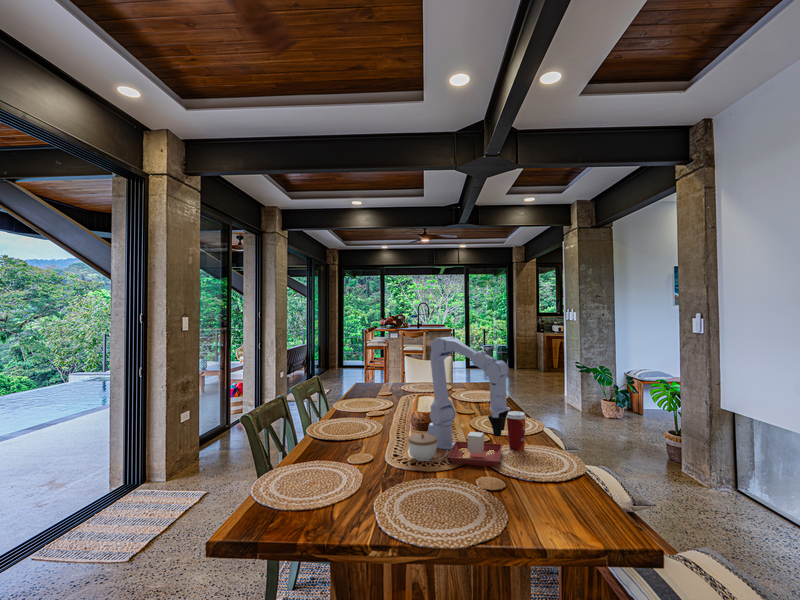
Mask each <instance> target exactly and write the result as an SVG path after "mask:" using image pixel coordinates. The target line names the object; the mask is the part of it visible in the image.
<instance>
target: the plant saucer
mask: <svg viewBox="0 0 800 600" xmlns="http://www.w3.org/2000/svg"><path fill="white" fill-rule="evenodd" d="M454 442H455V444H454V446H453V447H452V448H451V449H450V452H449V454H448V456H447V458H448V459H449V460H450V461H451V462H452V463H453V462H454V463H453V464H458V463H464V464H463V465H471V466H481V467H491V466H495V467H496V466H497V465H498V464H499V463H500V461H501V455H502V454H501V453H502V447H503V444H501V443H488V442H484V450H483V452H482V454H481V453H473V452H470V454H471V455H470V458H459V457H462V456H463V454H462V452H461V450H460V452H459V449H460V448H467V449H468V441H459V440H457V441H454ZM489 450H494V451H495V452H494V454H493V453H492V455H491V454H490V455H487V456H486V453H487V452H488V451H489Z"/></svg>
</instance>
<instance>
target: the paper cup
mask: <svg viewBox="0 0 800 600" xmlns="http://www.w3.org/2000/svg"><path fill="white" fill-rule="evenodd" d="M526 419H527V416H526V413H525V412H524V411H517V410H513V411H510V410H509V412H508V414H507V417H506V424H507V435H508V438H507V439H508V446H509V450H510V449H511V450H510V451H512V450H514V451H513V452H515V451H522V452H524V451H525V443H526V442H525V441H526ZM523 450H524V451H523Z"/></svg>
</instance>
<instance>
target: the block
mask: <svg viewBox="0 0 800 600" xmlns="http://www.w3.org/2000/svg"><path fill="white" fill-rule="evenodd" d="M466 437H467V442H468V452H473V453H481V454H482V452H483V450H484V443H485V433H484V432H479V431H477V432H476V431H470V432H469V433H468V434H467V436H466Z"/></svg>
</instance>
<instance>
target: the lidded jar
mask: <svg viewBox="0 0 800 600" xmlns="http://www.w3.org/2000/svg"><path fill="white" fill-rule="evenodd" d="M407 441H408V449H409V453H410V454H411V457H413V459H414V460H415V459H416V460H417V462H419V461H427V462H429V461H432V459H433V457H435V455H436V453H437V449H438V448H437V437H436V436H434V435H431V434H428V433H424V432H421V433H415V434H411V435H410V436H409V437H408V440H407ZM416 460H415V461H416Z"/></svg>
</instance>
